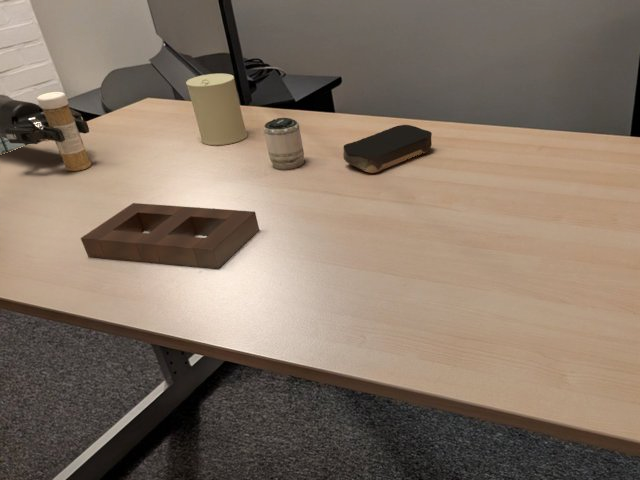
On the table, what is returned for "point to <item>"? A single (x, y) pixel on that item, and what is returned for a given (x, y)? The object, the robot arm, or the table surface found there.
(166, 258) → the socket block
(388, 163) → the black sponge
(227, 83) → the can
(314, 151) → the table surface
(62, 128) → the sprinkles bottle
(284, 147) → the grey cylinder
